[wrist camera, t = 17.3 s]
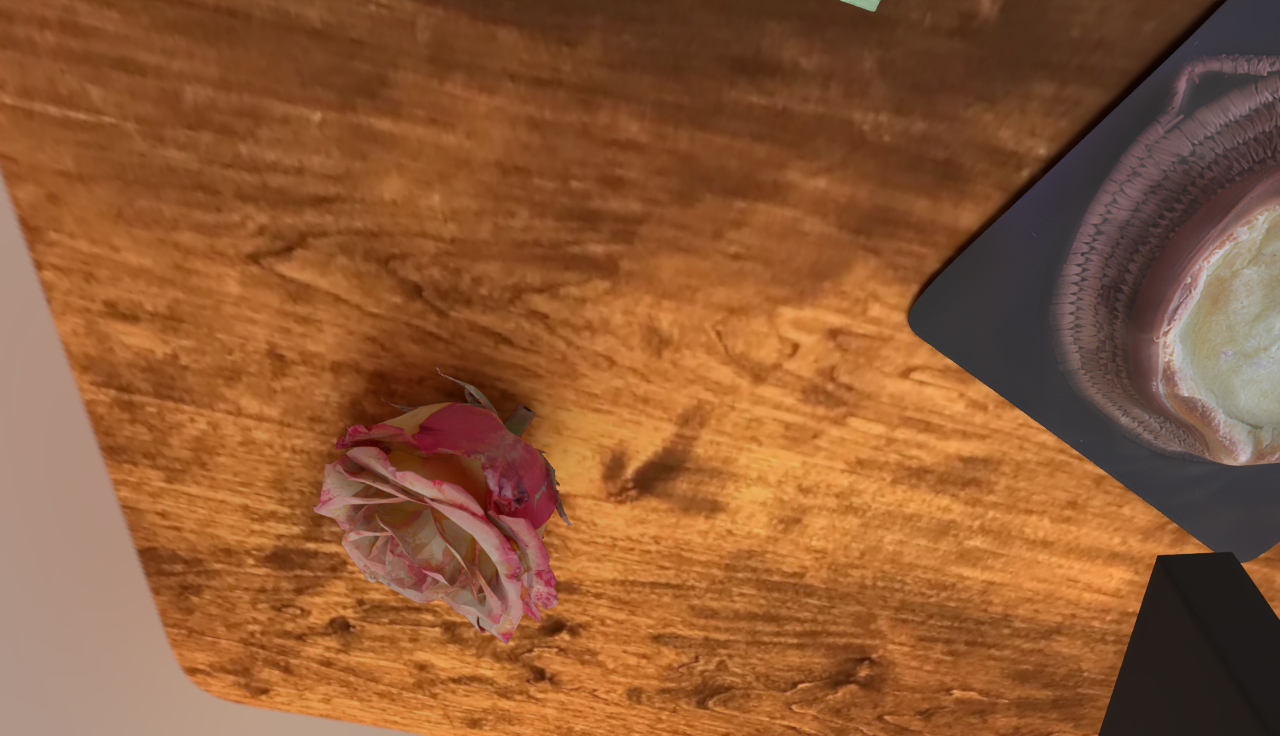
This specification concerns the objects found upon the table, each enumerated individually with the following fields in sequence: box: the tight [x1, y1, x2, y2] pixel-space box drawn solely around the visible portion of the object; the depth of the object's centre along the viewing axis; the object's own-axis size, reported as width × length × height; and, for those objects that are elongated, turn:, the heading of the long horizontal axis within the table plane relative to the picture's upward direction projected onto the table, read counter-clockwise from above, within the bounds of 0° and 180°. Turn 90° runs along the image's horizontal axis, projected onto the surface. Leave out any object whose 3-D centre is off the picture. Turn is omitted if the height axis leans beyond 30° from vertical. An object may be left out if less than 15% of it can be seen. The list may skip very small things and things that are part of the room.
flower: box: [313, 366, 572, 644], centre depth 43 cm, size 10×9×8 cm
